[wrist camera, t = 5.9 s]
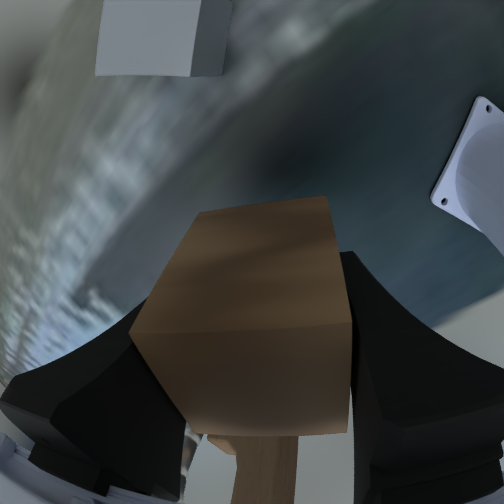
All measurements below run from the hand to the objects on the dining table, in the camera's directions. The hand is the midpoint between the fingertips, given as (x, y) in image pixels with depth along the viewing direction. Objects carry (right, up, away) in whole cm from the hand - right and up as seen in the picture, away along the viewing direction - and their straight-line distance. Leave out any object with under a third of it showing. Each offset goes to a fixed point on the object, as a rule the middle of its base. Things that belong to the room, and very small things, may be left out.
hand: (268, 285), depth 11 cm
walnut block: (0, +1, +1) cm, 2 cm away
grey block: (-4, +13, +4) cm, 15 cm away
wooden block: (0, -17, +22) cm, 28 cm away
